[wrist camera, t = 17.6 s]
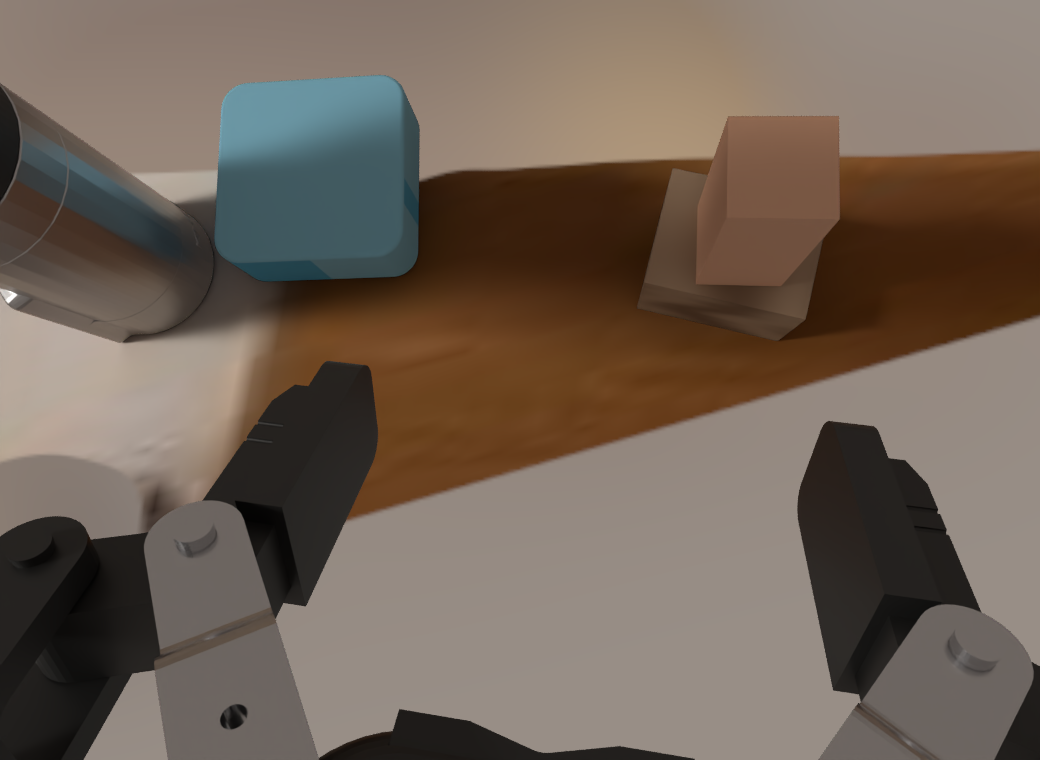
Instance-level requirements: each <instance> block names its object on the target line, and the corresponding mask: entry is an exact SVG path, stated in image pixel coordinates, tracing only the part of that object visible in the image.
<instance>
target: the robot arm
mask: <svg viewBox="0 0 1040 760" xmlns="http://www.w3.org/2000/svg"><path fill="white" fill-rule="evenodd" d="M213 267H214V262H213V251H212V247H211V244H210V240H209V238H208V236H207V235H206V233H205V231H204V229H203V228H202V227H201V226H200V224H199V223H198V222H197V221H196V220H195V219H194V218H193V217H191V216H190V215H188V214H187V213H186V212H184V211H183V210H182V209H181V208H180V207H178V206H177V205H175V204H174V203H173V202H171V201H169V200H168V199H166V198H164V197H163V196H161V195H160V194H159V193H157V192H156V191H155V190H153V189H152V188H150V187H149V186H147V185H146V184H144V183H143V182H142V181H140V180H139V179H137V178H136V177H134V176H133V175H132V174H130V173H129V172H127V171H126V170H124V169H123V168H122V167H120V166H119V165H117V164H116V163H114V162H113V161H111V160H110V159H109V158H107V157H106V156H104V155H103V154H101V153H100V152H99V151H97V150H96V149H94V148H93V147H91V146H90V145H88V144H87V143H86V142H84V141H83V140H81V139H80V138H78V137H77V136H76V135H74V134H73V133H71V132H70V131H68V130H67V129H65V128H64V127H63V126H61V125H60V124H58V123H57V122H55V121H54V120H53V119H51V118H50V117H48V116H47V115H45V114H44V113H42V112H41V111H40V110H38V109H36V108H35V107H34V106H32V105H31V104H30V103H28V102H27V101H25V100H24V99H22V98H21V97H19V96H18V95H17V94H15V93H14V92H12V91H11V90H9V89H8V88H7V87H5V86H3V85H2V84H1V83H0V294H1V295H2V297H3V299H4V300H5V302H6V303H7V304H8V305H9V306H10V307H11V308H13V309H14V310H17V311H20V312H23V313H26V314H30V315H33V316H36V317H39V318H42V319H45V320H48V321H52V322H55V323H58V324H61V325H64V326H67V327H71V328H74V329H77V330H80V331H83V332H86V333H90V334H93V335H96V336H99V337H102V338H105V339H109V340H112V341H115V342H118V343H121V342H123V341H124V340H125V339H127V338H128V337H130V336H132V335H137V334H153V333H157V332H162V331H165V330H168V329H170V328H172V327H174V326H176V325H178V324H179V323H181V322H182V321H183V320H185V319H186V318H187V317H189V316H190V315H191V314H192V313H193V312H194V310H195V309H196V308H197V307H198V306H199V305H200V303H201V302H202V300H203V298H204V297H205V295H206V293H207V291H208V288H209V285H210V283H211V280H212V274H213ZM377 441H378V427H377V419H376V410H375V402H374V393H373V384H372V376H371V371H370V369H369V367H368V366H366V365H358V364H349V363H341V362H332V361H326V362H325V363H324V364H323V365H322V366H321V368H320V369H319V371H318V372H317V374H316V375H315V377H314V379H313V380H312V382H311V383H310V385H309V386H301V385H294V386H293V387H291V388H290V389H288V390H287V391H285V392H284V393H283V394H281V395H280V396H278V397H277V398H275V399H274V400H273V401H272V402H271V403H270V404H269V406H268V407H267V409H266V410H265V412H264V413H263V415H262V416H261V417H260V419H259V420H258V425H255V426H254V427H253V429H252V430H251V432H250V433H249V435H248V436H247V441H244V442H243V443H242V445H241V446H240V448H239V449H238V450H237V452H236V453H235V455H234V456H233V458H232V459H231V460H230V462H229V463H228V465H227V466H226V468H225V469H224V470H223V472H222V473H221V475H220V476H219V478H218V479H217V481H216V482H215V483H214V485H213V486H212V488H211V489H210V491H209V492H208V493H207V495H206V496H205V498H204V499H203V500H202V501H199V502H194V503H190V504H186V505H184V506H181V507H179V508H177V509H175V510H173V511H171V512H169V513H168V514H166V515H165V516H163V517H162V518H161V519H160V520H159V521H157V523H156V524H155V525H154V526H153V527H152V528H151V530H150V531H149V532H147V533H141V534H134V535H126V536H118V537H109V538H101V539H93V540H91V539H90V537H89V535H88V533H87V531H86V529H85V527H84V526H83V525H82V524H81V523H80V522H78V521H77V520H74V519H72V518H67V517H58V516H57V517H56V516H55V517H45V518H40V519H35V520H32V521H29V522H26V523H24V524H21V525H19V526H17V527H15V528H13V529H11V530H10V531H8V532H6V533H5V534H3V535H2V536H1V537H0V760H84V758H85V756H86V754H87V753H88V751H89V749H90V747H91V745H92V744H93V742H94V740H95V738H96V737H97V735H98V733H99V731H100V730H101V728H102V726H103V724H104V723H105V721H106V719H107V717H108V715H109V714H110V712H111V710H112V708H113V706H114V705H115V703H116V701H117V700H118V698H119V696H120V694H121V693H122V691H123V689H124V687H125V685H126V684H127V682H128V680H129V679H130V677H131V675H132V673H139V672H145V671H152V670H155V676H156V683H157V690H158V696H159V703H160V709H161V716H162V722H163V729H164V736H165V743H166V749H167V756H168V760H695V759H692V758H686V757H680V756H674V755H668V754H662V753H657V752H651V751H645V750H639V749H632V748H626V747H621V746H618V747H608V748H597V749H586V750H576V751H565V752H555V753H541V752H537V751H534V750H532V749H530V748H527V747H525V746H523V745H520V744H519V743H516V742H514V741H512V740H510V739H508V738H505V737H503V736H501V735H499V734H497V733H494V732H492V731H490V730H488V729H486V728H483V727H481V726H479V725H477V724H475V723H472V722H471V721H466V720H460V719H454V718H448V717H442V716H437V715H431V714H425V713H419V712H413V711H407V710H399V712H398V716H397V719H396V722H395V725H394V729H393V731H391V732H382V733H378V734H373V735H369V736H365V737H362V738H359V739H356V740H354V741H351V742H348V743H346V744H344V745H342V746H340V747H338V748H336V749H333V750H331V751H329V752H328V753H326V754H325V755H323V756H322V757H320V758H319V757H318V754H317V751H316V748H315V745H314V741H313V738H312V735H311V732H310V729H309V725H308V722H307V719H306V716H305V713H304V709H303V706H302V703H301V700H300V697H299V693H298V690H297V687H296V684H295V681H294V678H293V674H292V671H291V668H290V665H289V661H288V658H287V655H286V652H285V649H284V645H283V642H282V639H281V636H280V633H279V630H278V626H277V623H276V620H275V619H276V617H277V615H278V613H279V611H280V609H281V607H282V605H283V603H288V604H294V605H301V606H306V605H307V603H308V600H309V598H310V596H311V594H312V592H313V590H314V588H315V586H316V584H317V581H318V579H319V577H320V575H321V573H322V571H323V568H324V566H325V564H326V562H327V560H328V558H329V556H330V553H331V551H332V549H333V547H334V545H335V543H336V540H337V538H338V536H339V534H340V532H341V530H342V527H343V525H344V523H345V521H346V519H347V517H348V515H349V512H350V510H351V508H352V506H353V504H354V502H355V499H356V497H357V495H358V493H359V491H360V489H361V487H362V484H363V482H364V480H365V478H366V476H367V474H368V471H369V469H370V467H371V465H372V463H373V460H374V457H375V453H376V448H377ZM937 511H938V508H937V506H936V503H935V501H934V498H933V496H932V494H931V491H930V489H929V487H928V484H927V483H926V482H925V481H924V480H923V479H922V478H921V477H920V476H919V475H918V473H916V471H915V470H914V469H913V468H912V467H911V466H910V465H909V464H908V463H907V462H906V461H905V460H897V459H890V458H888V456H887V453H886V450H885V448H884V445H883V442H882V440H881V437H880V434H879V432H878V430H877V429H876V428H875V427H874V426H867V425H858V424H849V423H841V422H833V421H828V422H826V423H825V424H824V425H823V427H822V429H821V431H820V434H819V437H818V440H817V442H816V445H815V448H814V450H813V453H812V456H811V459H810V461H809V464H808V467H807V470H806V472H805V475H804V478H803V480H802V483H801V486H800V490H799V496H798V521H799V526H800V532H801V536H802V541H803V546H804V551H805V556H806V561H807V565H808V570H809V575H810V580H811V585H812V590H813V595H814V600H815V604H816V609H817V614H818V619H819V624H820V629H821V634H822V638H823V643H824V648H825V653H826V658H827V663H828V668H829V672H830V677H831V682H832V687H833V690H834V691H841V692H848V693H854V694H859V696H860V700H861V703H860V704H859V703H858V705H857V706H856V707H855V709H853V711H852V712H851V714H850V715H849V717H848V718H847V719H846V721H845V722H844V724H843V725H842V726H841V728H840V730H839V731H838V732H837V734H836V735H835V737H834V738H833V739H832V741H831V742H830V744H829V745H828V747H827V748H826V750H825V751H824V753H823V754H822V755H821V757H820V758H819V760H1040V666H1038V665H1036V664H1034V663H1033V662H1031V660H1030V657H1029V655H1028V653H1027V652H1026V650H1025V648H1024V647H1023V645H1022V644H1021V643H1020V642H1019V640H1018V639H1017V638H1016V637H1015V636H1014V635H1013V634H1012V633H1011V632H1010V631H1009V630H1008V629H1006V628H1005V627H1004V626H1003V625H1002V624H1000V623H999V622H997V621H995V620H994V619H993V618H991V617H989V616H987V615H985V614H983V613H982V612H981V610H980V608H979V606H978V603H977V601H976V598H975V596H974V594H973V591H972V589H971V587H970V584H969V582H968V579H967V578H966V575H965V572H964V570H963V568H962V565H961V563H960V560H959V558H958V556H957V553H956V551H955V549H954V546H953V544H952V541H951V539H950V537H949V535H946V527H945V525H944V522H943V520H942V518H941V515H940V514H938V513H937Z"/></svg>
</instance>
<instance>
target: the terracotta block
mask: <svg viewBox="0 0 1040 760" xmlns="http://www.w3.org/2000/svg"><path fill="white" fill-rule="evenodd" d="M839 220H840V182H839V116H752V117H751V116H750V117H749V116H737V117H735V116H729V117H728V118H727V121H726V124H725V127H724V130H723V133H722V136H721V139H720V142H719V145H718V148H717V151H716V154H715V156H714V159H713V162H712V165H711V168H710V171H709V174H708V177H707V180H706V183H705V186H704V189H703V192H702V195H701V198H700V200H699V203H698V208H697V256H696V284H699V285H742V286H782V284H783V283H784V282H785V281H786V280H787V279H788V278H789V277H790V275H791V274H792V273H793V272H794V271H795V270H796V269H797V267H798V266H799V265H800V264H801V263H802V262H803V261H804V259H805V258H806V257H807V256H808V255H809V254H810V253H811V251H812V250H813V249H814V248H815V247H816V246H817V245H818V243H819V242H820V241H821V240H822V239H823V238H824V237H825V236H826V234H827V233H828V232H829V231H830V230H831V229H832V228H833V226H834V225H835V224H836V223H837V222H838V221H839Z"/></svg>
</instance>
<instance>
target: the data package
mask: <svg viewBox="0 0 1040 760" xmlns="http://www.w3.org/2000/svg"><path fill="white" fill-rule="evenodd" d="M219 146H220V147H219V162H218V180H217V198H216V216H215V234H214V242H215V246H216V249H217V251H218V252H219V254H220V255H221V256H222V257H223V258H224V259H226V260H227V261H229V262H230V263H232V264H234V265H235V266H237V267H238V268H240V269H241V270H243V271H244V272H246V273H248V274H249V275H251V276H252V277H254V278H255V279H257V280H260V281H293V280H321V279H348V278H375V277H396V276H400V275H403V274H405V273H406V272H408V271H409V270H410V269H411V268H412V267H413V266H414V264H415V262H416V260H417V257H418V221H419V124H418V121H417V119H416V117H415V114H414V112H413V110H412V108H411V105H410V103H409V101H408V99H407V96H406V94H405V92H404V90H403V88H402V86H401V85H400V84H399V83H398V82H397V81H396V80H395V79H393V78H391V77H389V76H385V75H373V76H356V77H341V78H325V79H308V80H291V81H276V82H275V81H274V82H258V83H245V84H241V85H238V86H236V87H234V88H233V89H232V90H231V91H229V92H228V94H227V95H226V96H225V98H224V101H223V103H222V109H221V127H220V144H219Z"/></svg>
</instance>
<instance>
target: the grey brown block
mask: <svg viewBox="0 0 1040 760" xmlns="http://www.w3.org/2000/svg"><path fill="white" fill-rule="evenodd" d="M707 177H708V175H704V174H699V173H694V172H689V171H684V170H680V169H675V168H673V170H672V173H671V177H670V180H669V184H668V188H667V191H666V195H665V199H664V202H663V206H662V210H661V214H660V218H659V222H658V226H657V230H656V234H655V238H654V242H653V246H652V250H651V254H650V258H649V262H648V266H647V270H646V274H645V278H644V282H643V286H642V290H641V294H640V298H639V302H638V306H637V308H638V309H642V310H646V311H651V312H655V313H659V314H663V315H668V316H672V317H676V318H681V319H685V320H689V321H693V322H698V323H702V324H706V325H710V326H715V327H719V328H723V329H727V330H732V331H736V332H740V333H745V334H749V335H753V336H757V337H762V338H766V339H770V340H774V341H778V340H780V339H781V338H782V337H784V336H785V335H786V334H787V333H789V332H790V331H791V330H793V329H794V328H795V327H797V326H798V325H799V324H800V323H802V322H803V321H804V320H806V315H807V311H808V306H809V302H810V297H811V292H812V288H813V283H814V279H815V274H816V270H817V265H818V261H819V256H820V251H821V247H822V242H823V239H822V240H821V241H820V242H819V243H818V245H817V246H816V247H815V248H814V249H813V250H812V251H811V253H810V254H809V255H808V256H807V257H806V258H805V259H804V261H803V262H802V263H801V264H800V265H799V266H798V267H797V269H796V270H795V271H794V272H793V273H792V274H791V275H790V277H789V278H788V279H787V280H786V281H785V282H784V283H783V284H782V286H742V285H699V284H696V256H697V208H698V203H699V200H700V198H701V195H702V192H703V189H704V186H705V183H706V180H707Z"/></svg>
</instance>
